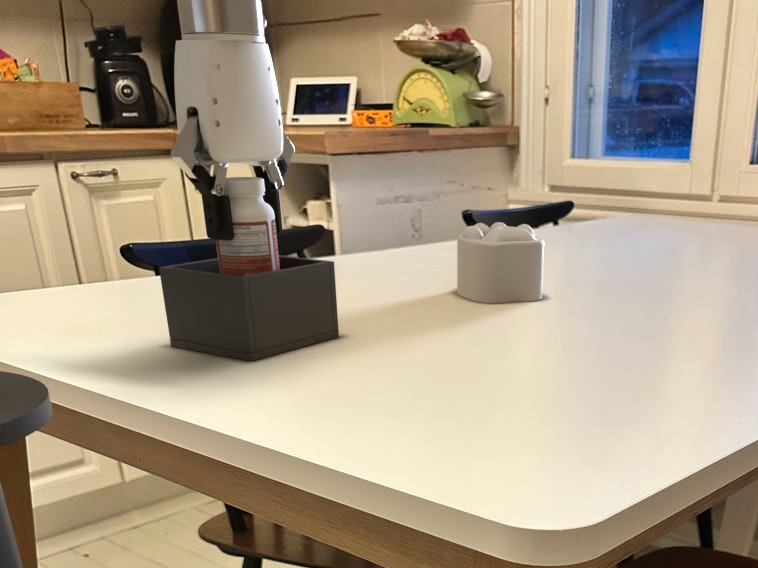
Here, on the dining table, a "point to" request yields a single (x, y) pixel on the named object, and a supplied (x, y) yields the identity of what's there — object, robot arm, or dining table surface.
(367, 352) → the dining table surface
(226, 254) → the pill bottle
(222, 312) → the basket
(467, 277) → the lumpy-topped squat cylinder
